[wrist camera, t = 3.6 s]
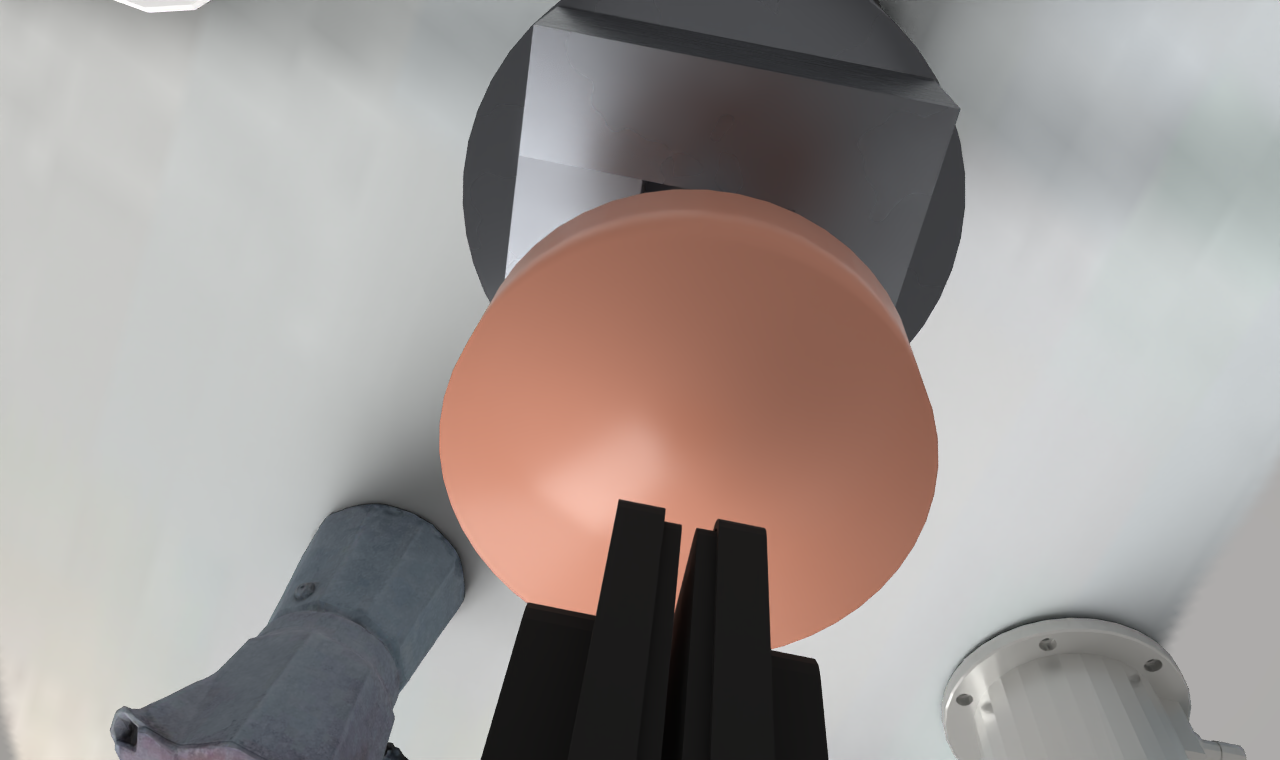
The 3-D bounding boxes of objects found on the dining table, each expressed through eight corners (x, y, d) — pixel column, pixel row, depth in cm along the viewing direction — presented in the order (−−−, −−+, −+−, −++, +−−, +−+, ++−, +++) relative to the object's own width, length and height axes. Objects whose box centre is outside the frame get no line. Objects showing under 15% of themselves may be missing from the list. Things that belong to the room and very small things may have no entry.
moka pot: (350, 428, 49) (129, 744, 31) (552, 621, 54) (459, 989, 36) (234, 519, 52) (-24, 849, 35) (433, 692, 57) (296, 1060, 40)
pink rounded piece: (934, 169, 17) (1013, 296, 12) (828, 491, 20) (857, 695, 15) (543, 92, 17) (460, 186, 12) (502, 426, 20) (424, 610, 15)
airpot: (960, -172, 34) (1213, -215, 16) (821, 308, 43) (880, 635, 25) (601, -243, 34) (438, -368, 16) (537, 252, 43) (385, 537, 25)
